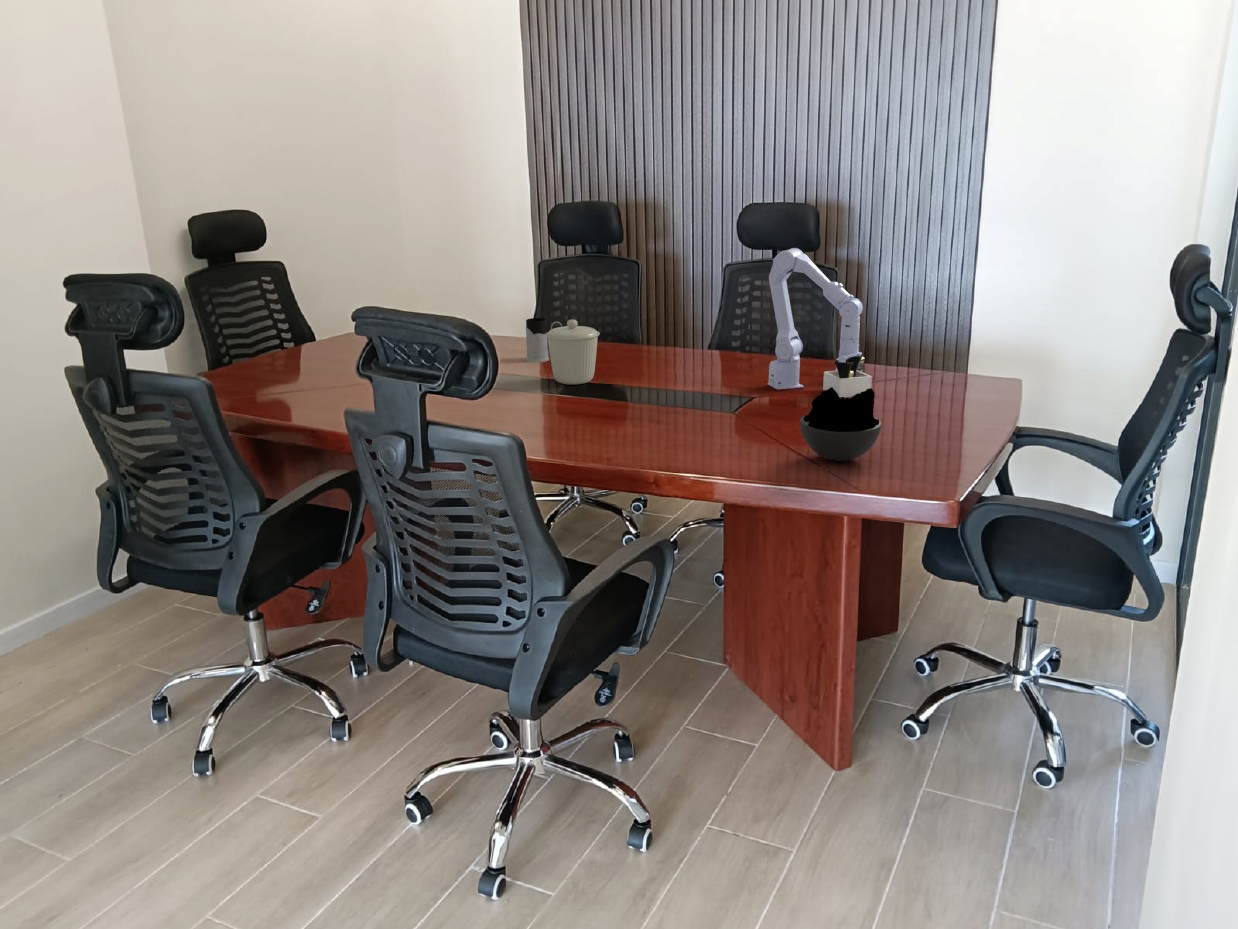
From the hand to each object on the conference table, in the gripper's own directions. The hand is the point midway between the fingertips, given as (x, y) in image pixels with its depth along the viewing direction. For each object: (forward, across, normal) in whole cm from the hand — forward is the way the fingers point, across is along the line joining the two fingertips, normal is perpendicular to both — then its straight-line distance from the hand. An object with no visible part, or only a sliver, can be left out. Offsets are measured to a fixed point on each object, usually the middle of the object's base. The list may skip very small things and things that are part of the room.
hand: (847, 380), depth 320 cm
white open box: (+4, 0, 0) cm, 4 cm away
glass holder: (+4, +1, +116) cm, 116 cm away
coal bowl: (+4, -69, -19) cm, 71 cm away
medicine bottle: (+4, +19, +5) cm, 20 cm away
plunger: (+2, 0, 0) cm, 2 cm away
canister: (+4, -25, +87) cm, 91 cm away
